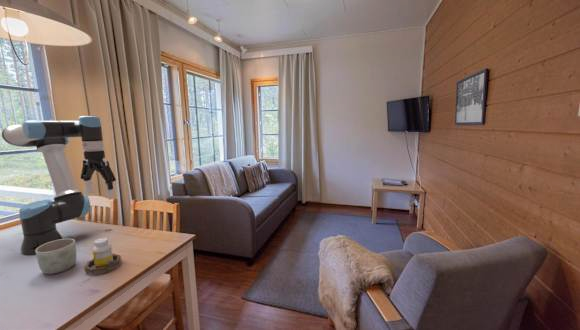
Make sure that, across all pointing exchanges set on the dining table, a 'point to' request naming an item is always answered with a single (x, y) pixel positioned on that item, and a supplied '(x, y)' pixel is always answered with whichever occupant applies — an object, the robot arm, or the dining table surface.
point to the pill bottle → (102, 253)
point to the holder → (92, 270)
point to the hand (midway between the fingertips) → (100, 195)
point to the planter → (56, 255)
